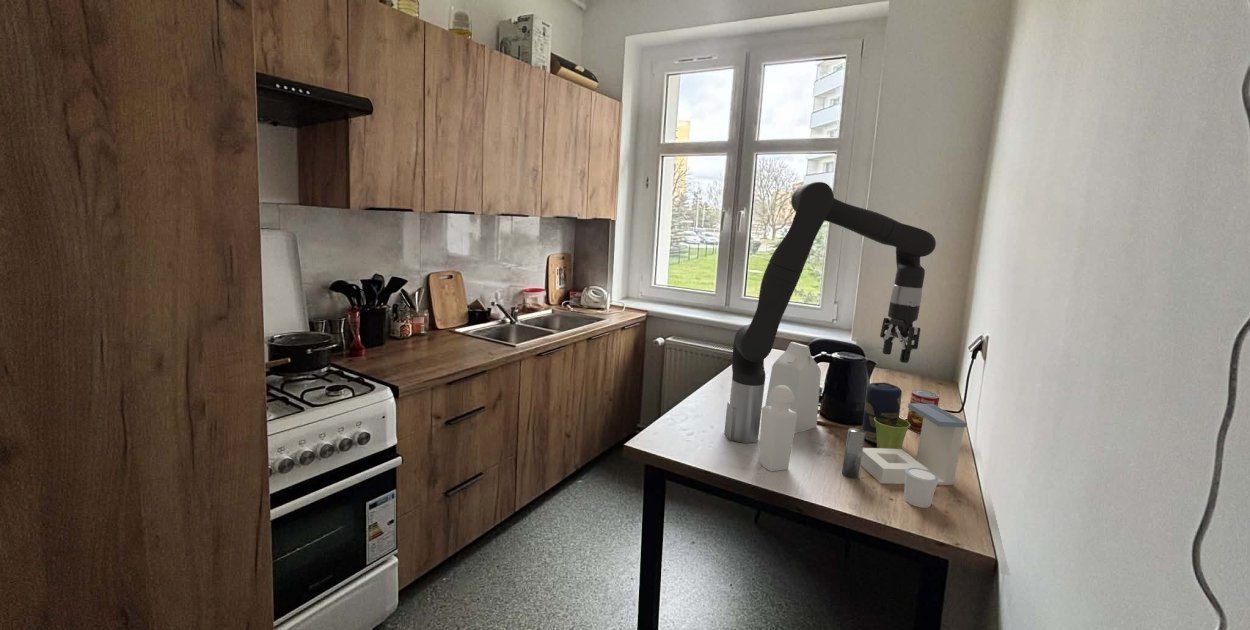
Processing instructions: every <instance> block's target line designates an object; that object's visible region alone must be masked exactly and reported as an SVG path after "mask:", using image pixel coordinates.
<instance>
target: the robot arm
mask: <svg viewBox="0 0 1250 630" xmlns="http://www.w3.org/2000/svg"><path fill="white" fill-rule="evenodd" d="M790 202H791V204H790V205H791V207H792V209H793V210H794V212H795V213H794V217H793V220H792V222H791V224H790V226H789V227H790V228H789V229H788V231H787V233H786V234H785V236H784V237H783V239H782V240H781V241H780V243H779V244H778V245H777V247H776V248H775V249H774V251H773V253H772V255H771V257H770V259H769V261H768V263H767V266H766V269H765V271H764V272H763V273H764V274H763V276H762V279H761V282H760V283H761V284H760V287H759V294H758V301H757V307H756V310H755V313H754V315H753V318H752V320H751V322H750V324H746V325H742V326H741V327H740V328H739V329H738V330H737V331H736V332H735V335H734V338H733V346H732V357H731V358H732V359H731V360H732V361H731V370H732V371H731V372H732V377H731V387H730V395H729V401H727V405H726V415H725V423H724V434H725V435H726V436H727V439H728V440H729V441H735V442H736V443H737V442H738V443H741V444H743V443H744V444H752V443H756V442H757V441H758V440H759V437H760V428H761V417H762V408H763V402H764V401H763V400H764V391H765V385H766V372H765V370H766V369H765V364H764V363H765V359H766V358H768V356H770V355H769V354H770V353H771V352H772V350H773V347H774V344H775V339H776V337H777V333H778V330H779V326H780V323H781V321H782V319H783V317H784V314H785V312H786V309H787V307H788V305H789V302H790V300H791V298H792V296H793V293H794V291H795V289H796V287H797V285H798V283H799V280H800V278H801V275H802V273H803V270H804V268H805V265H806V262H807V260H808V258H809V255H810V252H811V251H812V247H813V246H814V245H813V244H814V242H815V240H816V238H817V235H818V234H819V231H820V230H821V227H822V226H823V224H824V223H825V222H828V223H831V224H834V225H836V226H839V227H842V228H844V229H846V230H849V231H851V232H854V233H855V234H858V235H860V236H862V237H865V238H867V239H870V240H871V241H874V242H877V243H879V244H882V245H884V246H885V245H886V246H891V247H894V248H895V259H896V260H895V263H896V273H895V278H894V283H893V284H894V285H893V288H892V291H891V296H890V301H889V305H888V311H887V312H888V313H887V316H888V317H884V318H883V320H882V324H881V330H880V334H879V336H880V338H882V340H883V347H882V354H884V355H891V354H892V350H893V344H894V343H893V342H894V340H895V339H896V338H897V339H898V342H900V343H901V344H900V345H901V351H900V357H899V362H900V363H903V364H908V363H909V361H910V359H911V358H910V357H911V352H912V350H917V349H918V348H919V342H920V336H921V328H920V327H917V326H913V325H914V322H916V321H917V320H918V319H919V313H920V307H921V302H922V299H923V298H922V296H923V293H922V292H923V286H924V285H923V284H924V280H925V274H926V273H925V272H926V269H925V268H924V267H923V266H922V265H921V258H922V257H927V256H929V255H930V254H932V253H933V252H934V250H935V249H936V245H937V242H936V238H935V237H934V235H933V234H932V233H931V232H929V231H927V230H924V229H921V228H920V227H916V226H913V225H910V224H907V223H906V224H905V223H902V222H900V221H897V220H896V219H894V218H891V217H889V216H887V215H884V214H882V213H879V212H877V211H873V210H870V209H866V208H863V207H859V206H856V205H852V204H850V203H847V202H844V201H841V200H839V199H837V198H835V196H834V191H833V189H832V188H831V186H830V185H829V184H828V183H825V182H823V181H813V182H808V183H807V182H806V183H804V184H802V185H799V186H798V187H797V188H796V189H795V190H794V191H793V193H792V195H791V201H790Z"/></svg>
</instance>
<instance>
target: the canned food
mask: <svg viewBox="0 0 1250 630" xmlns="http://www.w3.org/2000/svg"><path fill="white" fill-rule="evenodd" d="M939 402H940V395H939V394H938V393H936V392H932V391H929V390H924V389H912V390H911V393H910V399H909V403H916V404H934V405H936V406H937V407H939ZM923 418H924V417H923V416H921V415H919V414H918V413H916V412H915V411H913V410H911V409H910V408H908V411H907V417H906V421H908V422H909V423H910V427H909V429H908V430H910V431H912V432H914V433H915V432H916V433H918V432H919V434H921V429H922V424H923Z"/></svg>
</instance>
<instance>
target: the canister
mask: <svg viewBox="0 0 1250 630" xmlns="http://www.w3.org/2000/svg"><path fill="white" fill-rule="evenodd" d="M902 391H903V390H902V389H901V388H900V387H899V386H897V385H894V384H890V383H888V382H872V383H868V384H867V386H866V391H865V398H864V399H865V401H864V409H863V416H862V418H863V420H862V429H861V430H863V431H864V432H865V439H866V440H867V441H869V442H872V443H874V444H877V433H876V425H875V421H874V417H876V421H877V422H879V423H881V424H884V425H888V426H892V427H896V423H897V418H900V414H901V413H900V412H901V411H900V410H901V404H902V394H903V393H902ZM865 439H864V440H865Z"/></svg>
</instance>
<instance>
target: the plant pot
mask: <svg viewBox="0 0 1250 630" xmlns="http://www.w3.org/2000/svg"><path fill="white" fill-rule="evenodd" d="M874 421H875V425H876V433H877V443H876V448H886V449H902V447H903V444H904V440H905V437H906V434H907V432H908V430H909V429H908V428H909V427H910V423H909V422H908V421H907V419H904V418H900V417H899V418H897V423H896V427H892V426H888V425H884V424H881V423H879V422H877V421H876V417H874Z"/></svg>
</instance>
